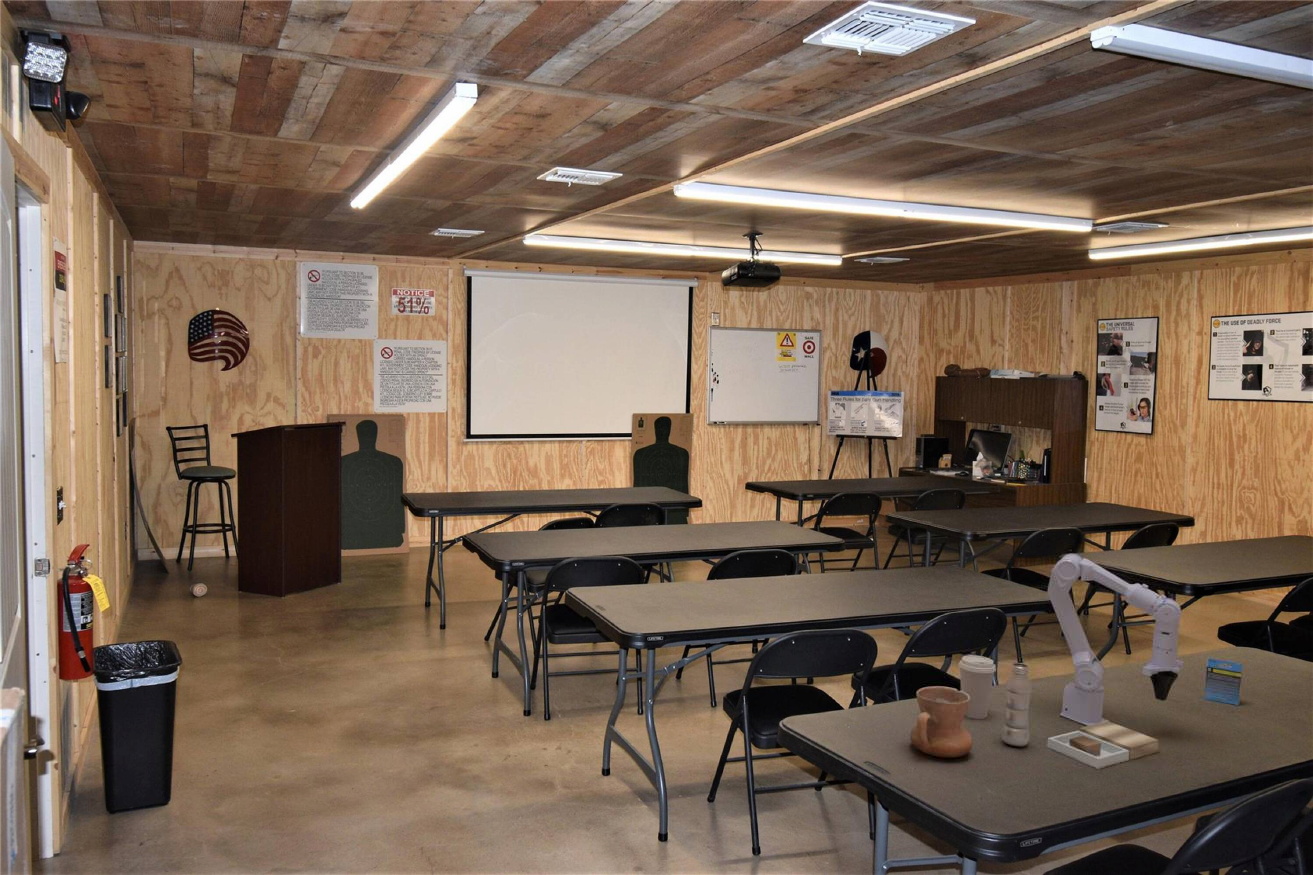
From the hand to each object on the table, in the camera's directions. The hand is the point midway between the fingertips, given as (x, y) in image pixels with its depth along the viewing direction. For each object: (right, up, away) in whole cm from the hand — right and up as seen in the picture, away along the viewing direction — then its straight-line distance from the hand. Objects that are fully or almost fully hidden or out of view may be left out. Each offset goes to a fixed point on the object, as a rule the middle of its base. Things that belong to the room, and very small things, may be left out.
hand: (1160, 699), depth 254 cm
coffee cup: (-45, -7, +10) cm, 46 cm away
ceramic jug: (-61, -9, -16) cm, 64 cm away
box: (-25, -10, -14) cm, 30 cm away
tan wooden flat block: (-15, -10, -8) cm, 19 cm away
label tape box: (+32, -9, +30) cm, 45 cm away
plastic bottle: (-41, -9, -9) cm, 43 cm away
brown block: (-26, -6, -15) cm, 30 cm away
